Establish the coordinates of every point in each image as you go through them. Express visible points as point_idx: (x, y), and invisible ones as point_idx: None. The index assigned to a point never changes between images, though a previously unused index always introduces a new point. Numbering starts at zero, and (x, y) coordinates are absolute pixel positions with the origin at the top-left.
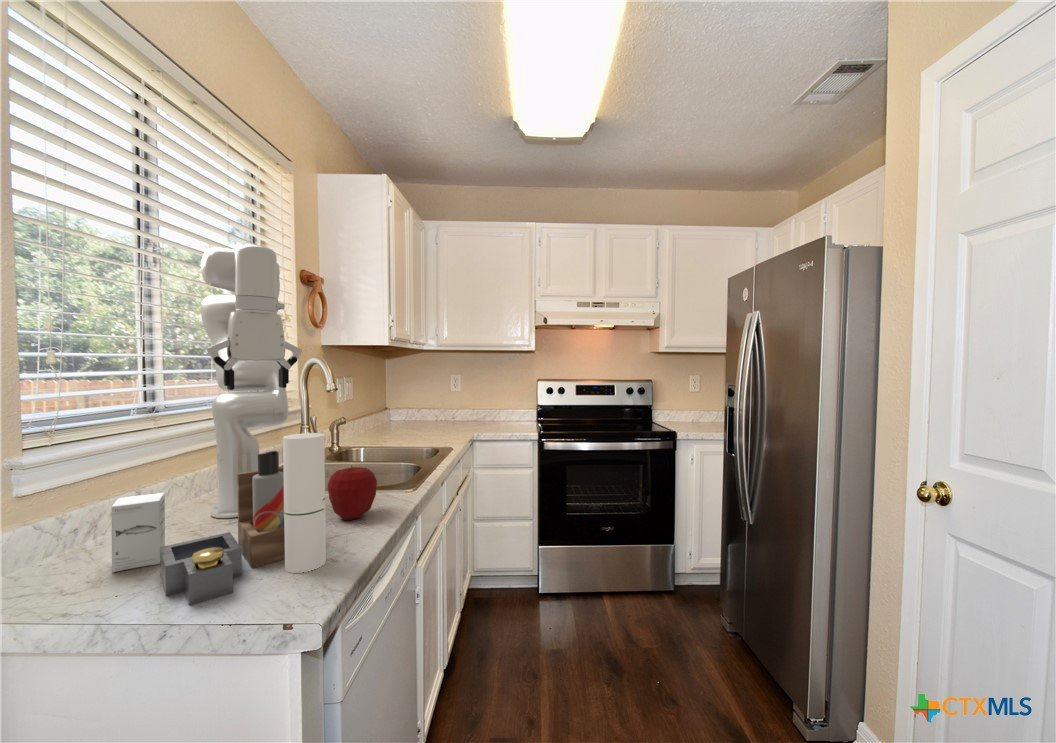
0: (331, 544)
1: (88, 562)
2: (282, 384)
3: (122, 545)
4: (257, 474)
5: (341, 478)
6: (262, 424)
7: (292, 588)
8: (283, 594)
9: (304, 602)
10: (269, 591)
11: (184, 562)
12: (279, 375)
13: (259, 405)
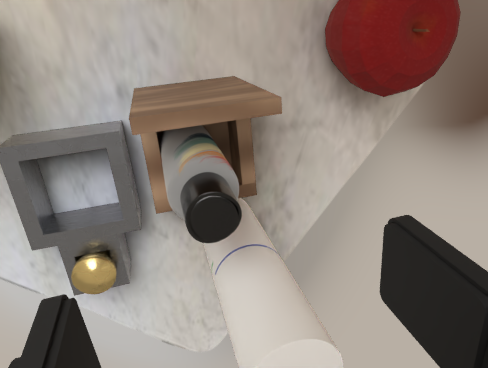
0: (275, 160)
1: None
2: (391, 305)
3: None
4: (179, 184)
5: (373, 71)
6: None
7: (198, 280)
8: (186, 290)
9: (204, 317)
10: (172, 276)
11: (59, 248)
12: (440, 292)
13: None
